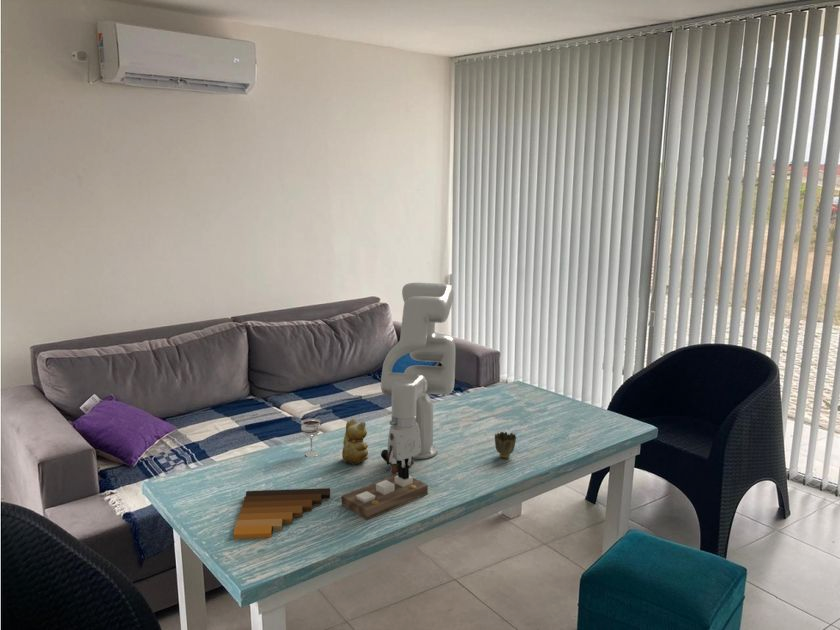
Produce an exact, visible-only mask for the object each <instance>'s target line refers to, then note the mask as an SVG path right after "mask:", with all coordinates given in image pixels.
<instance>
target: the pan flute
mask: <svg viewBox="0 0 840 630" xmlns="http://www.w3.org/2000/svg"><path fill="white" fill-rule="evenodd" d="M328 499H329V500H330V499H331V487H325V488H294V489H272V490H271V489H265V490H247V491H245V496H244V497H243V502H242V504H241V507H240V511H239V513H238V517H237V520H236V522H235V526H234V527H233V539H234V540H237V539H238V540H239V539H258V538H259V539H261V538H262V539H263V538H264V539H265V538H272V537H273V534H274V533H273V532H275V531H284V524H285V525H289V524H290V525H291V524H293V523H294V518H303V515H304V512H312V511H313V506H319V505H322V500H328Z"/></svg>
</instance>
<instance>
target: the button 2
mask: <svg viewBox="0 0 840 630" xmlns="http://www.w3.org/2000/svg"><path fill="white" fill-rule="evenodd" d="M413 478H414V477H413V476H411V475H409V478H406V479H405V480H404V479H402V478H400V477H399V476H395V484H397V485H399V486H401V487H406V486H408V485H411V484H413Z"/></svg>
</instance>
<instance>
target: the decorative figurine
mask: <svg viewBox="0 0 840 630" xmlns="http://www.w3.org/2000/svg"><path fill="white" fill-rule="evenodd" d="M367 434H368V431H367V428H366V421H363V420H362V421H360V422H358V423H357V419H356V418H355V417H351V419H349V420H347V422H346V425H345V434H344V437H343V441H342V442H343V447H342V454H341V455H342V459H343V461H344V462H347V463H349V464H351V465H357V464H361V463H363V462H365V461H366V460H368V459H369V456H368V454H369V450H368V447H369V444H368V443H367V442H364V439H365V438H366V437H367Z"/></svg>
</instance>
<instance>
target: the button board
mask: <svg viewBox="0 0 840 630" xmlns="http://www.w3.org/2000/svg"><path fill="white" fill-rule="evenodd" d="M395 476H398V473H396V474H395V475H394V474H393V475H391V476H389V477H386V478H384V479H381V480H378V481H376V482H373V483H371V484H368V485H365V486H363V487H360V488H358V489H355V490H353V491H350V492H346V493H345V494H343V495H340V496H341V498H340V499H341V502H340V505H341V506H343V507H344V508H346V509H347V510H349V511H351V512H353V513H354V514H356V515H358V516H359V517H361V518H363V519H365V520H366V521H368V520H370V519H372V518H375V517H378V516H379V515H381V514H384V513H386V512H389V511H391V510H393V509H396V508H398V507H401V506H402V505H405V504H408V503H409V502H412V501H414V500H417V499H418V498H421V497H423V496H427V495H428V494H429V493H428V492H429V487H428V486H429V485H428V484H427V483H425V482H422V481H421V480H418V479H417V478H415V477H413V484H411V485H408V486H406V487H401V486H399V485H397V484H395ZM385 480H387V481H389V482H391V483H393V484H395V491H393V492H391V493H388V494H386V495H383V494H381V493H379V492H377V491H376V484H377V483H379V482H382V481H385ZM366 491H367V492H369V493H371V494H373V495H375V499H374V500H371V501H369V502H366V503H363V502H362V501H360V500H358V499H356V495H358V494H361V493H363V492H366Z"/></svg>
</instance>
